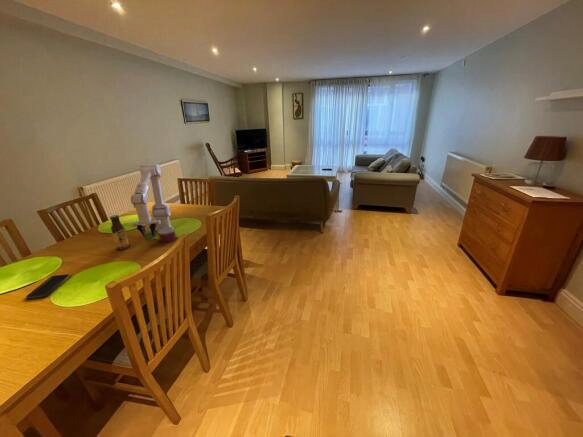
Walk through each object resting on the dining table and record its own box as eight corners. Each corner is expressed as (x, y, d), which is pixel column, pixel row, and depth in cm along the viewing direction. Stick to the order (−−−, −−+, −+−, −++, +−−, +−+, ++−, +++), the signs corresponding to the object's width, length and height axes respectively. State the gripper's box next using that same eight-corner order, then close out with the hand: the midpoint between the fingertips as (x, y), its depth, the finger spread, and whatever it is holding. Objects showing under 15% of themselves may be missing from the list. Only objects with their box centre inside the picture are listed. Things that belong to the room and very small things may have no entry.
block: (145, 240, 137) (143, 234, 136) (147, 237, 141) (146, 231, 139) (153, 239, 138) (151, 233, 136) (155, 236, 142) (153, 230, 140)
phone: (24, 297, 100) (51, 275, 113) (25, 299, 100) (52, 277, 114) (45, 295, 101) (70, 274, 114) (46, 297, 101) (71, 276, 115)
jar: (156, 241, 146) (153, 232, 144) (167, 234, 155) (165, 226, 153) (168, 243, 144) (166, 234, 141) (180, 236, 152) (178, 227, 150)
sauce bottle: (123, 250, 137) (112, 218, 129) (114, 249, 138) (103, 218, 130) (132, 245, 143) (123, 214, 135) (123, 244, 144) (113, 213, 136)
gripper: (126, 218, 129) (133, 240, 134) (155, 215, 131) (161, 237, 137) (131, 213, 135) (137, 235, 140) (159, 211, 138) (164, 232, 143)
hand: (149, 236), depth 139 cm, fingers closed on block, 4 cm apart
